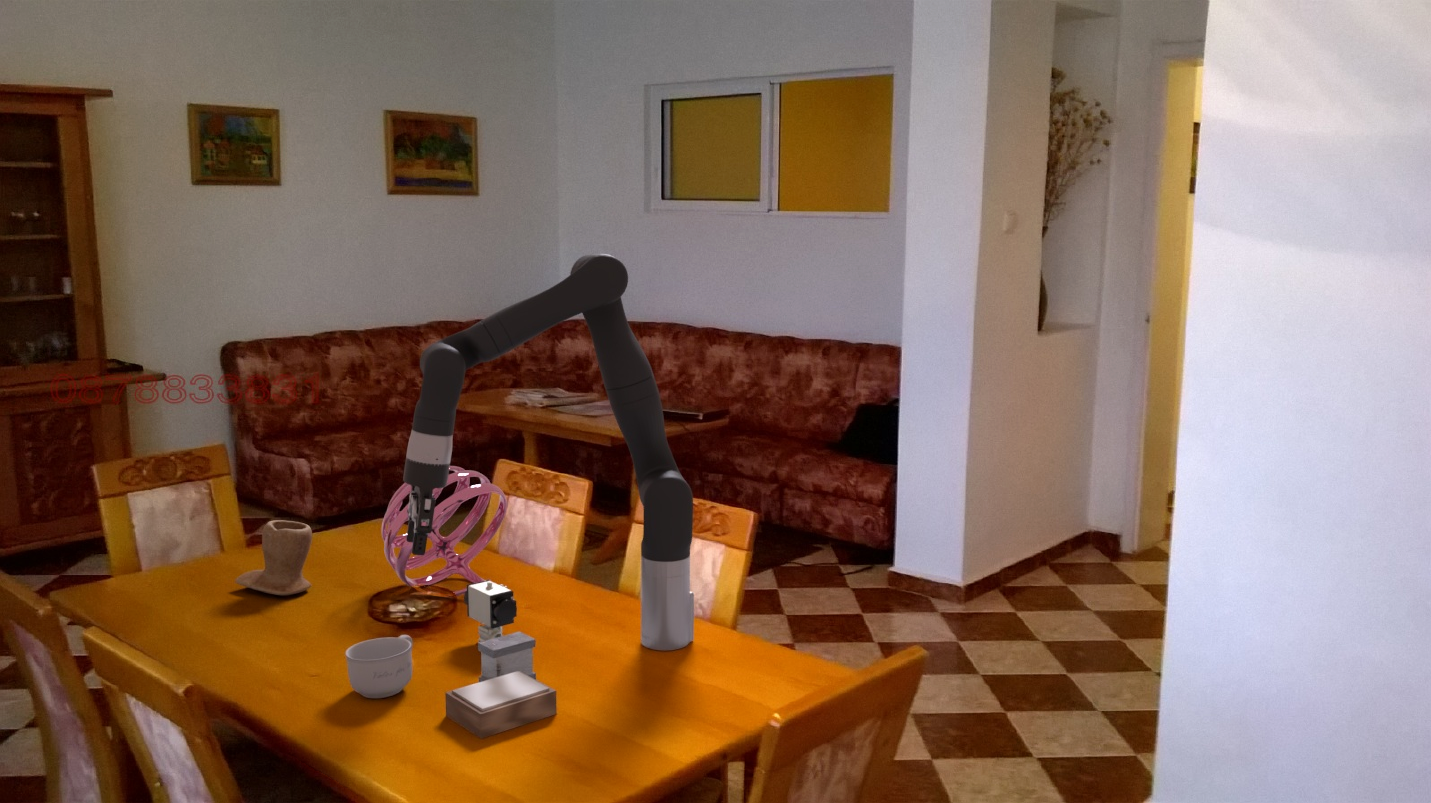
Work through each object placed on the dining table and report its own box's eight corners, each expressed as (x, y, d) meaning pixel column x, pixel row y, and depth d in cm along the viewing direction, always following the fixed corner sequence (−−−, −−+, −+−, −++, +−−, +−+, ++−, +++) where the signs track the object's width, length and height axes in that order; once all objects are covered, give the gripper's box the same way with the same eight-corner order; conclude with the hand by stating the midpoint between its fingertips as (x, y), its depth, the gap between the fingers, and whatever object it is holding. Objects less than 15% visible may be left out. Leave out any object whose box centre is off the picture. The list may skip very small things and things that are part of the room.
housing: (520, 672, 209) (519, 631, 207) (535, 680, 205) (535, 639, 204) (478, 684, 203) (477, 642, 202) (494, 693, 199) (493, 650, 198)
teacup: (378, 709, 192) (376, 663, 191) (333, 695, 198) (331, 649, 197) (439, 681, 204) (438, 637, 203) (395, 668, 210) (394, 625, 208)
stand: (519, 693, 199) (519, 668, 199) (556, 713, 191) (556, 688, 191) (445, 715, 190) (445, 689, 189) (481, 738, 182) (480, 711, 181)
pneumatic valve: (496, 654, 216) (495, 592, 215) (464, 637, 225) (462, 577, 223) (522, 647, 220) (521, 586, 218) (489, 631, 229) (487, 571, 227)
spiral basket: (553, 505, 248) (472, 423, 257) (447, 563, 229) (363, 472, 238) (526, 584, 266) (451, 505, 275) (425, 644, 247) (349, 557, 256)
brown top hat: (326, 588, 253) (323, 521, 251) (279, 603, 244) (275, 533, 241) (281, 576, 262) (277, 511, 259) (234, 590, 252) (230, 522, 249)
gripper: (456, 468, 199) (442, 560, 200) (444, 452, 212) (431, 539, 214) (411, 463, 196) (397, 557, 198) (402, 447, 209) (389, 536, 211)
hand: (415, 548), depth 206 cm, fingers open, 8 cm apart
